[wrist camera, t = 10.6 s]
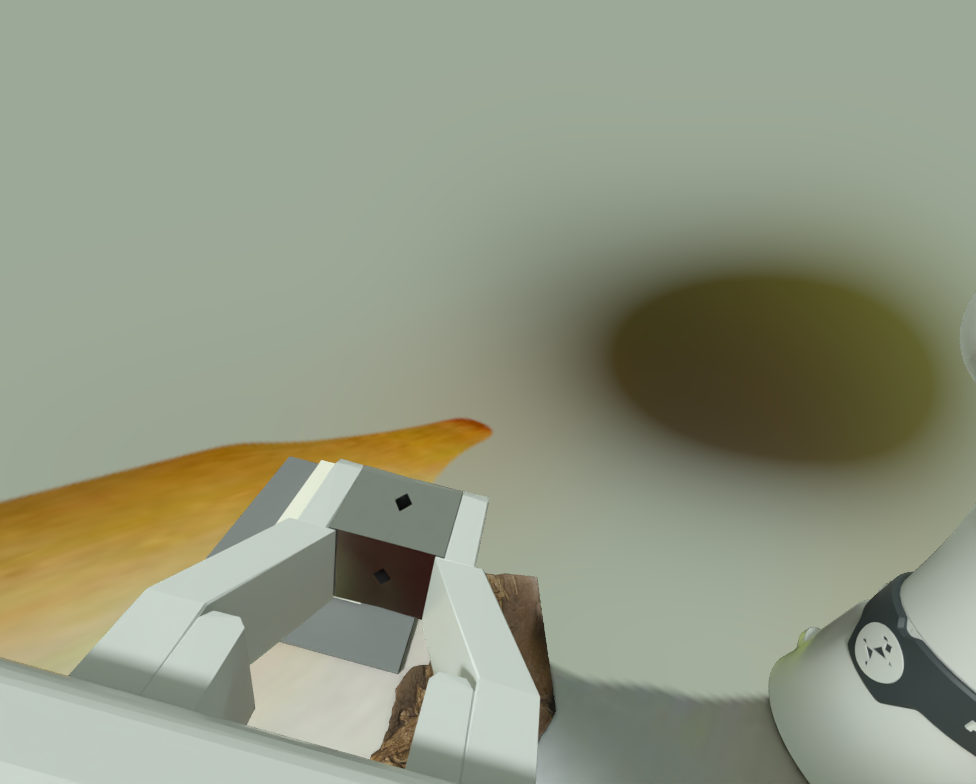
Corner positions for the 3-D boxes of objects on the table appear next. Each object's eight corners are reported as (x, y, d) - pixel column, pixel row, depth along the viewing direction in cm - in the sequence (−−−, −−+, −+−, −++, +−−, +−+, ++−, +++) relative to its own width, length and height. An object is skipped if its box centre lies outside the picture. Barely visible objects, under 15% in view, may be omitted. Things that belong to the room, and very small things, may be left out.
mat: (450, 502, 50) (451, 498, 50) (397, 674, 35) (398, 670, 34) (289, 459, 50) (289, 456, 50) (167, 610, 35) (166, 607, 35)
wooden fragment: (479, 551, 46) (481, 544, 45) (585, 606, 43) (588, 599, 42) (277, 891, 25) (277, 887, 24) (458, 1040, 22) (462, 1038, 22)
